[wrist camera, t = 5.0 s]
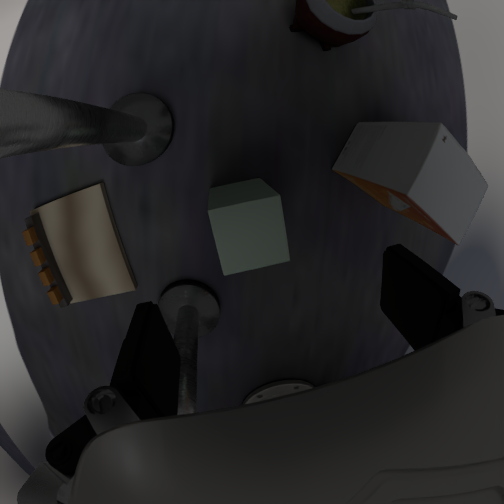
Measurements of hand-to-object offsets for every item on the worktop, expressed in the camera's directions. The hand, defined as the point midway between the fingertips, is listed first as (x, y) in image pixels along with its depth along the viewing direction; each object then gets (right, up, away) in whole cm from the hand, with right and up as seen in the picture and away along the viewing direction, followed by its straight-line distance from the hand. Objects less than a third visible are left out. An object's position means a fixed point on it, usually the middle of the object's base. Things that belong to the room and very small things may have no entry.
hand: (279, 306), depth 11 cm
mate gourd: (+6, +25, +11) cm, 28 cm away
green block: (-2, +7, +17) cm, 19 cm away
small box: (+12, +12, +17) cm, 24 cm away
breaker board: (-20, +3, +16) cm, 26 cm away
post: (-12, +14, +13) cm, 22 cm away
